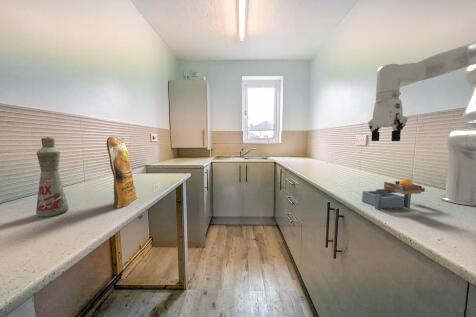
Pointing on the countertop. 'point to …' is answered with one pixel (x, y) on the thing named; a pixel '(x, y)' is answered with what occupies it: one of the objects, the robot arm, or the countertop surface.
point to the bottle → (50, 181)
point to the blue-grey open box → (383, 199)
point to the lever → (400, 188)
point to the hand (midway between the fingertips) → (384, 141)
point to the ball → (406, 182)
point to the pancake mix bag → (121, 172)
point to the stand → (379, 199)
